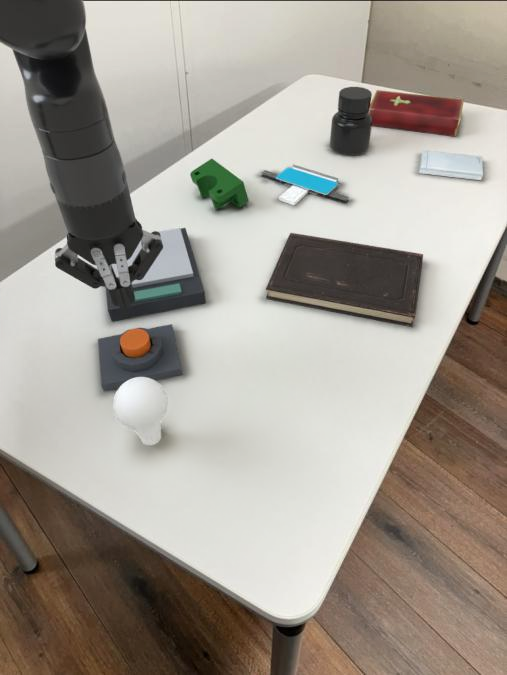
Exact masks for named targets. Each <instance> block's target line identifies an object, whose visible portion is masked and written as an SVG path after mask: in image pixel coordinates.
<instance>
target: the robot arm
mask: <svg viewBox="0 0 507 675" xmlns="http://www.w3.org/2000/svg"><path fill="white" fill-rule="evenodd" d="M86 26H87V13H86V7H85V3H84V0H0V43H1V44H2V45H3V46H6V47H8V48H10V49H11V50H12V53H13V55H14V58H15V61H16V63H17V66H18V69H19V72H20V75H21V78H22V81H23V86H24V95H25V101H26V106H27V110H28V114H29V117H30V121H31V123H32V127H33V129H34V131H35V135H36V137H37V140H38V143H39V146H40V149H41V153H42V156H43V160H44V165H45V170H46V174H47V178H48V181H49V186H50V190H51V192H52V194H54V198H55V200H56V203H57V206H58V209H59V211H60V214H61V217H62V220H63V223H64V226H65V228H66V231H67V234H66V244H65V245H64V246H63V247H58V248H56V249H55V252H54V263H55V264H54V265H55V267H56V268H57V269H58V270H60V271H62V272H63V273H65V274H66V275H69V276H71V277H72V278H74V279H76V280H78V281H79V282H81V283H83V284H85V285H86V286H89V287H90V288H92V289H99V288H100V287H104V288H105V289H106V288H108V290H109V293H110V296H111V299H112V303H113V304H114V305H115V306H119V307H120V309H125V308H130V307H131V303H134V302H135V295H134V290H133V286H132V282H133V281H134V280H142V279H143V278H144V276H145V275H146V273H147V272H148V270H149V269H150V267H151V266H152V264H153V263H154V261H155V260H156V258H157V257H158V255H159V254H160V252H161V250H162V249H163V244H162V240H161V235H160V233H159V231H157V230H153V231H152V232H149V231H147V230H144V229H143V225H142V224H141V222H140V221H138V220H137V218H136V214H135V210H134V206H133V202H132V197H131V192H130V188H129V185H128V184H129V183H128V180H127V174H126V171H125V167H124V162H123V159H122V156H121V152H120V150H119V148H118V144H117V142H116V139H115V136H114V130H113V126H112V122H111V118H110V114H109V110H108V106H107V102H106V99H105V96H104V93H103V90H102V88H101V85H100V82H99V80H98V77H97V75H96V71H95V67H94V62H93V56H92V52H91V47H90V42H89V37H88V33H87V28H86ZM140 241H141V246H142V248H141V250H140V252H139V253H138V255H137V256H136V258H135V260H134V261H133V263H132V265H131V266H129V267H128V264H127V260H129V259H130V258H131V257H132V255H133V253H134V251H135V250H136V248H137V246H138V244H139V243H140ZM78 256H79V257H78ZM81 258H82V259H81ZM86 261H87V262H86ZM112 264H117V269H118V274H119V278H118V277H116V275H115V272H114V269H113V267H112ZM94 266H96V267H94Z"/></svg>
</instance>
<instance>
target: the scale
mask: <svg viewBox="0 0 507 675" xmlns="http://www.w3.org/2000/svg"><path fill="white" fill-rule="evenodd" d="M158 232H159V233H160V235H161V240H162V244H163V249H162V250H161V252H160V254H159V255H158V257H157V258H156V260H155V261H154V263H153V264H152V266H151V267H150V269H149V270H148V272H147V273H146V275H145V276H144V278H143V279H142V280H134V281H133V282H132V286H133V290H134V295H135V302H134V303H131V307H130V308H125V309H120V307H119V306H115V305H114V304H113V303H112V299H111V296H110V293H109V290H108V288H106V287H105V296H106V305H107V312H108V315H109V319H110V321H111V322H116V321H122V320H126V319H127V320H128V319H132V318H137V317H141V316H147V315H152V314H157V313H163V312H167V311H168V312H169V311H172V310H178V309H182V308H183V309H184V308H188V307H194V306H199V305H203V304H207V300H206V292H205V289H204V285H203V282H202V278H201V275H200V272H199V268H198V265H197V262H196V259H195V255H194V251H193V249H192V244H191V241H190V239H189V235H188V232H187V229H186V227H182V228H181V227H177V228H171V229H165V230H160V231H158ZM141 248H142V246H141V241H140V243H139V244H138V246H137V248H136V250H135V251H134V253H133V255H132V257H131V258H130V259H129V260H127V264H128V267H129V266H131V265H132V263H133V261H134V260H135V258H136V256H137V255H138V253H139V252H140V250H141ZM112 267H113V269H114V272H115V275H116V277H118V278H119V274H118V269H117V264H112Z"/></svg>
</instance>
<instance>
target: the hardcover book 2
mask: <svg viewBox="0 0 507 675" xmlns="http://www.w3.org/2000/svg"><path fill="white" fill-rule="evenodd" d="M464 101H465V99H462V98H455V97H454V98H453V97H445V96H437V95H425V94H417V93H409V92H408V93H407V92H399V91H391V90H390V91H389V90H381V89H376V90H375V93H374V95H373V98H372V99H371V104H370V108H369V112H368V113H369V114H370V116H371V117H372V121H373V122H372V127H376V128H383V129H393V130H401V131H407V132H408V131H409V132H416V133H424V134H433V135H439V136H440V135H441V136H449V137H457V135H458V131H459V129H460V125H461V120H462V116H463V115H462V114H463V108H464Z"/></svg>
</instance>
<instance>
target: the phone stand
mask: <svg viewBox="0 0 507 675" xmlns="http://www.w3.org/2000/svg"><path fill="white" fill-rule="evenodd" d="M260 177H263V178H265V179H268V180H270V181H274V182H276V183H280V184H283V185H285V186H288V187H289V188H287V190H285V191H284V192H283V193H282V194H281V195H280V196H278V201H280V202H283V203H286V204H289V205H292V206H295V205H297V204H298V203H299V202H300V201H301V200H302V199H303V198H304V197H305V196H307V195H308V193H310V194H312V195H315V196H319V197H322V198H325V199H329V200H331V201H334V202H336V203H337V202H339V203H342V204H347V203H348V202H349V201H350V196H347V195H345V194H341V193H338V192H335V190H336V189H338V188H339V187H340V186H341V182H339V178H338V177H335V176H332V175H329V174H325V173H322V172H319V171H316V170H314V169H310V168H306V167H303V166H300V165H297V164H292V166H291V167H290V166H289V167H286V168H285V169H284V170H282V171H281V172H279V173H276V172H272V171H270V170H267V169H265V170H263V171H262V172H261V175H260Z"/></svg>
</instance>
